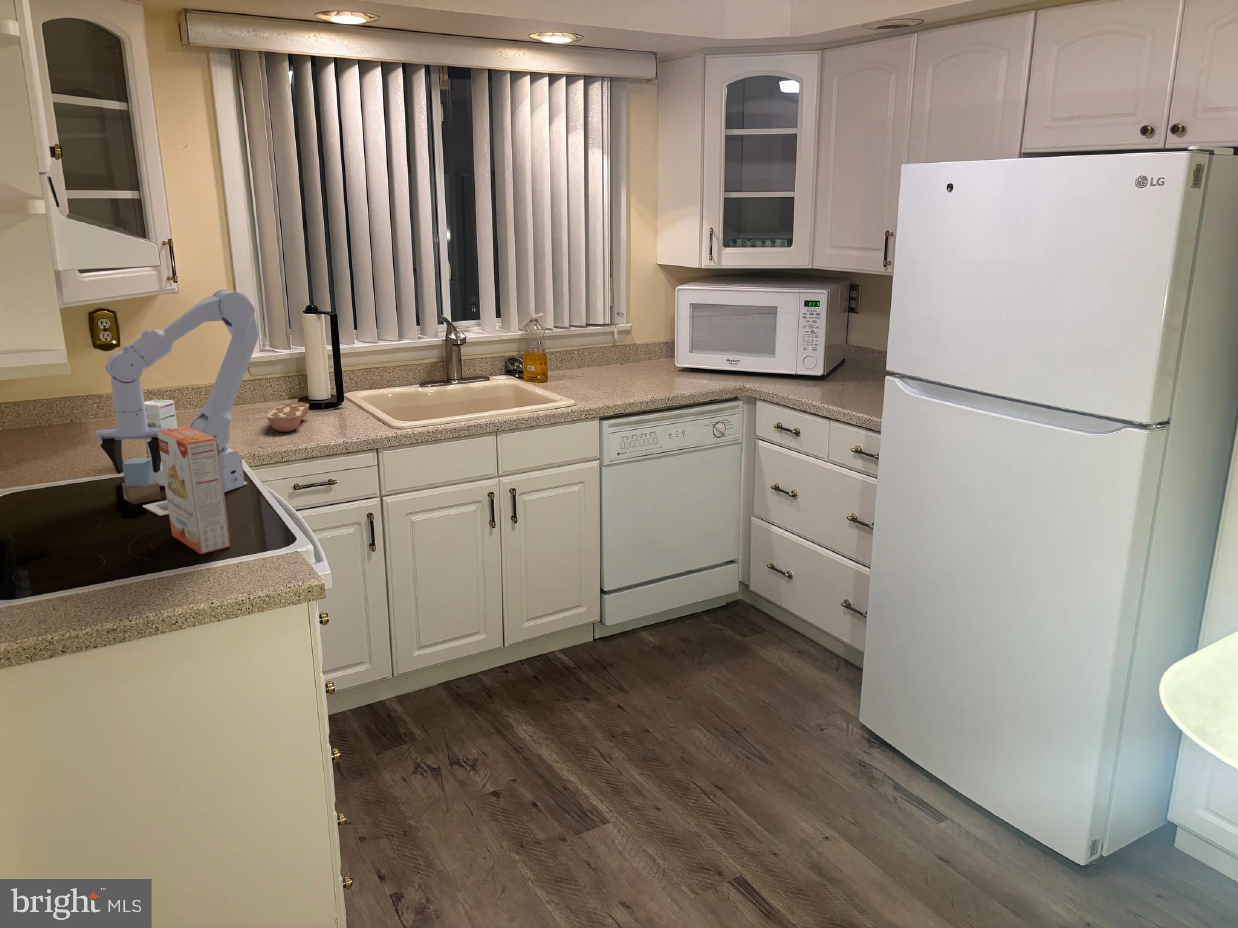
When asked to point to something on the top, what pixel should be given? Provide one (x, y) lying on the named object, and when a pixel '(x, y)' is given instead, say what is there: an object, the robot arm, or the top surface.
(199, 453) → the cracker box
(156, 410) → the syrup box
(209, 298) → the robot arm
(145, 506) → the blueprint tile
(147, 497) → the walnut base
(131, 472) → the light blue block
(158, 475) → the supplement bottle
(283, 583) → the top surface
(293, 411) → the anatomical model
